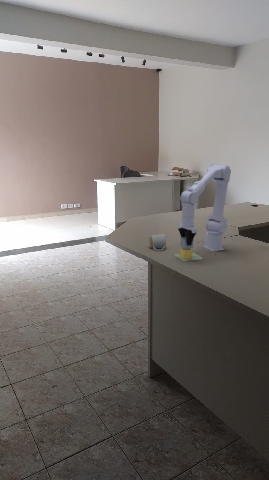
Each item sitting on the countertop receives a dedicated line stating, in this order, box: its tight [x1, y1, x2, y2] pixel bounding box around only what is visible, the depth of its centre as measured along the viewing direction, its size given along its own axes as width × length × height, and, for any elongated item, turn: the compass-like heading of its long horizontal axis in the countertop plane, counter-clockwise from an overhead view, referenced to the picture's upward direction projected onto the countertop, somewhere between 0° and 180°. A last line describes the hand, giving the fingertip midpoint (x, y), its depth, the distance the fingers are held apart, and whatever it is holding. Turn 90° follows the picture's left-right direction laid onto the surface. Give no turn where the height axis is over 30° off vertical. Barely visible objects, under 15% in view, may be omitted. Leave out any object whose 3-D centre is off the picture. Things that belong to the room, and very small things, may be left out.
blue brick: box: [179, 236, 194, 249], centre depth 178 cm, size 4×4×4 cm
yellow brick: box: [179, 247, 194, 259], centre depth 179 cm, size 4×4×4 cm
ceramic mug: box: [148, 233, 167, 252], centre depth 193 cm, size 11×8×8 cm
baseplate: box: [173, 251, 204, 262], centre depth 182 cm, size 11×11×1 cm
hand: (186, 243), depth 178 cm, fingers closed on blue brick, 4 cm apart
